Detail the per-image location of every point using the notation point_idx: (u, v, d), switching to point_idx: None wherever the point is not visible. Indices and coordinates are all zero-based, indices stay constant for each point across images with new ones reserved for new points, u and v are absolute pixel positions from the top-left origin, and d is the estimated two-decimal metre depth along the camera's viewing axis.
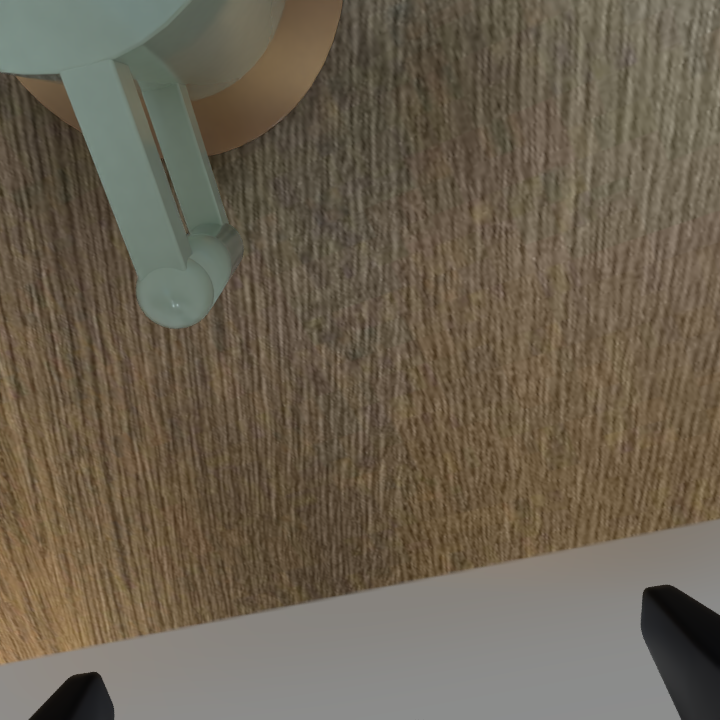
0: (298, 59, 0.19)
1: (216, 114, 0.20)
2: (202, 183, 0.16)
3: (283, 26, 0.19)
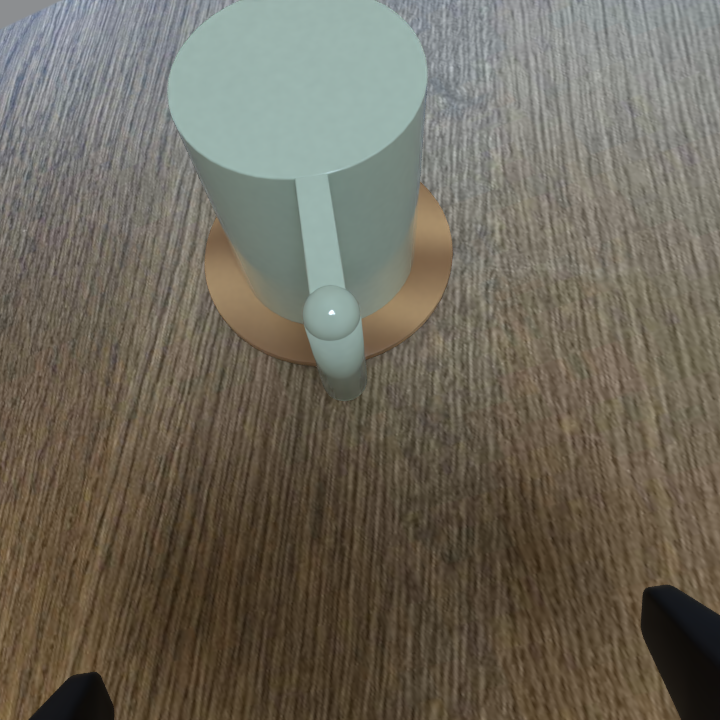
0: (415, 304, 0.26)
1: None
2: None
3: (407, 285, 0.27)
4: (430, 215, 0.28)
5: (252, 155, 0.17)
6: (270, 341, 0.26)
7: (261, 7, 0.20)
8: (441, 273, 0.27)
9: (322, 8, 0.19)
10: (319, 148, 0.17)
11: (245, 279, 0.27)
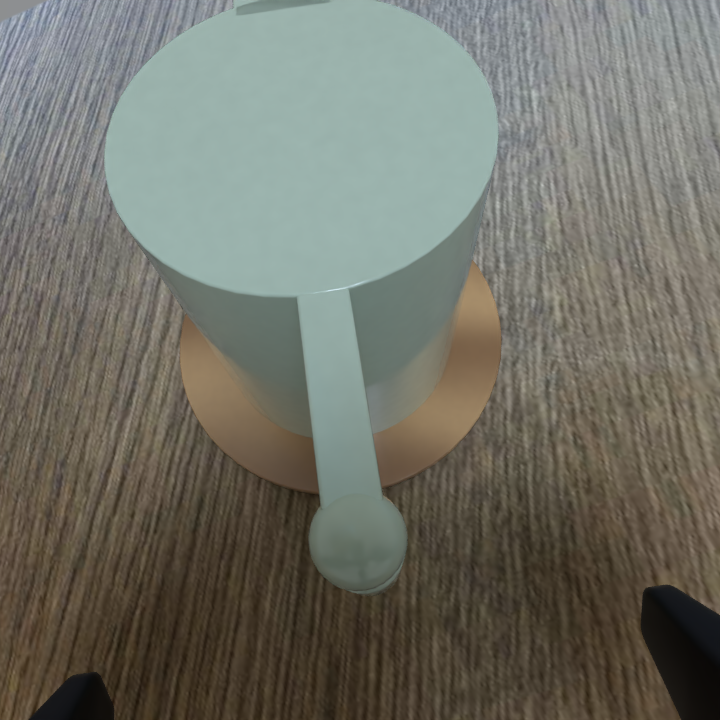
0: (455, 410, 0.20)
1: None
2: None
3: (443, 384, 0.20)
4: (470, 287, 0.22)
5: (229, 256, 0.11)
6: (264, 460, 0.20)
7: (248, 25, 0.13)
8: (488, 366, 0.20)
9: (338, 26, 0.13)
10: (335, 246, 0.11)
11: None
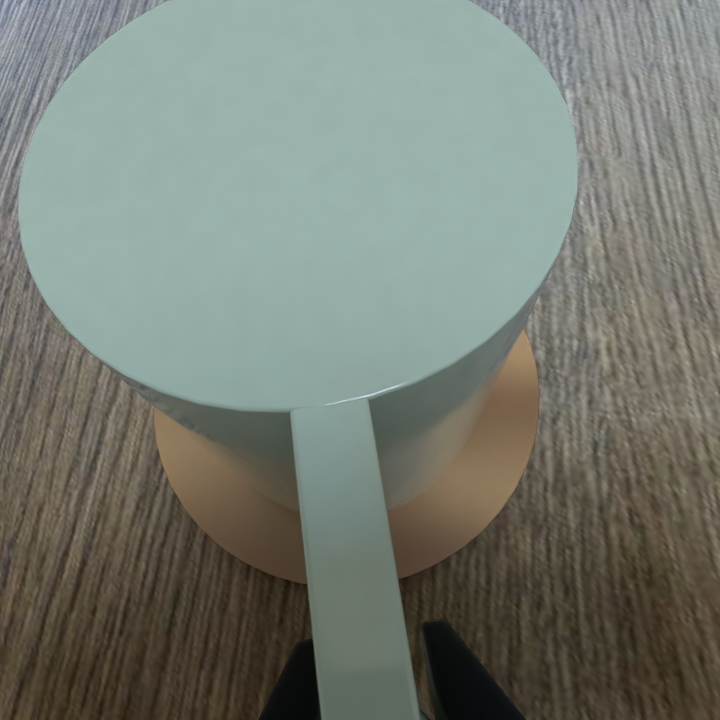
0: (486, 481, 0.16)
1: None
2: None
3: (470, 448, 0.17)
4: None
5: (191, 346, 0.07)
6: (253, 544, 0.16)
7: (225, 7, 0.10)
8: (524, 426, 0.17)
9: (347, 9, 0.10)
10: (348, 331, 0.07)
11: None
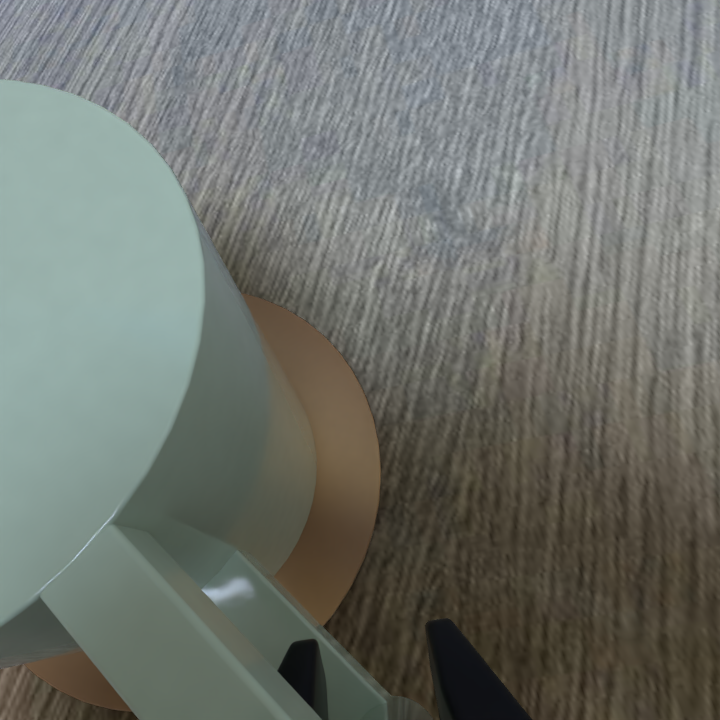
0: None
1: None
2: (327, 657, 0.10)
3: (279, 579, 0.15)
4: (354, 444, 0.16)
5: None
6: None
7: None
8: (344, 566, 0.15)
9: None
10: (49, 472, 0.06)
11: None
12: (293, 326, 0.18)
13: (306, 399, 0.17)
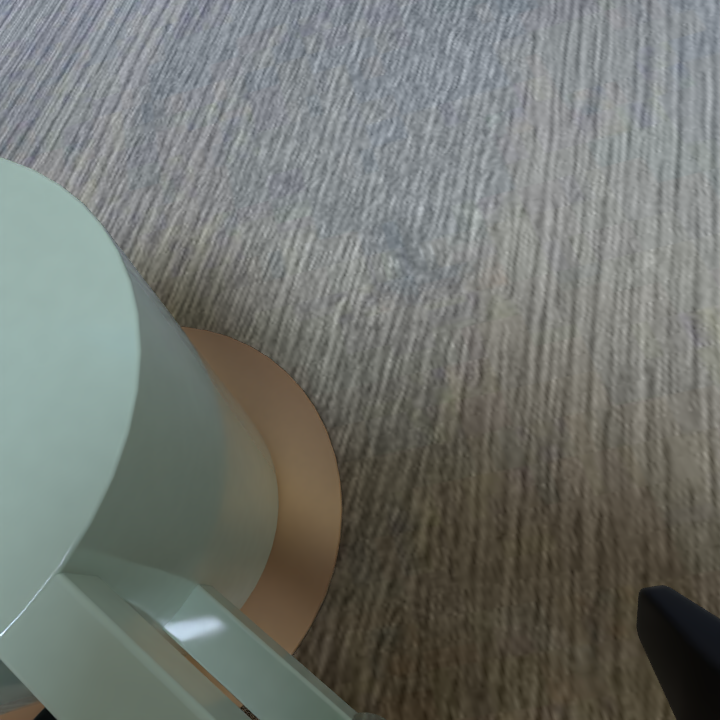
0: None
1: None
2: (291, 681, 0.10)
3: None
4: (316, 481, 0.17)
5: None
6: None
7: None
8: (304, 604, 0.15)
9: None
10: None
11: None
12: (257, 363, 0.18)
13: (269, 436, 0.17)
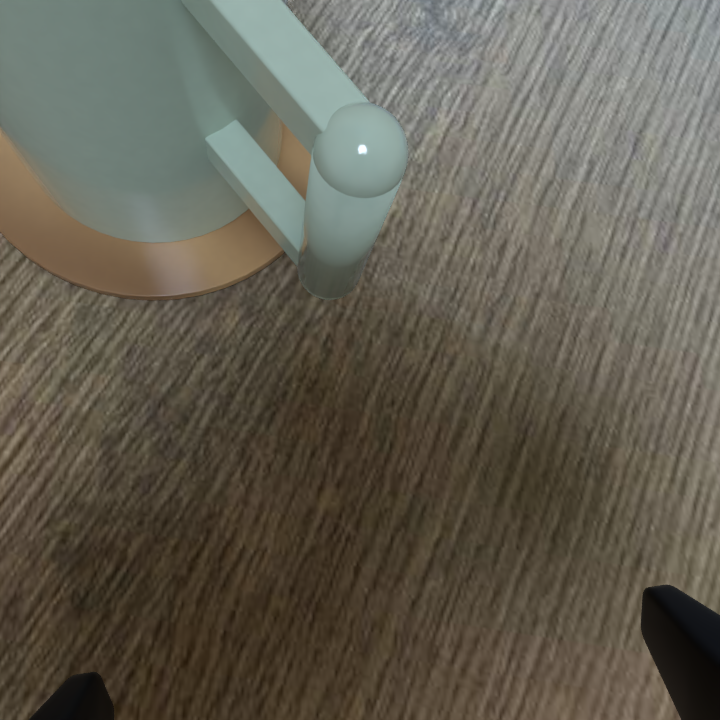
0: (226, 258, 0.19)
1: (118, 256, 0.18)
2: (294, 196, 0.14)
3: (229, 228, 0.19)
4: None
5: None
6: (7, 213, 0.18)
7: None
8: None
9: None
10: None
11: (69, 214, 0.18)
12: None
13: None
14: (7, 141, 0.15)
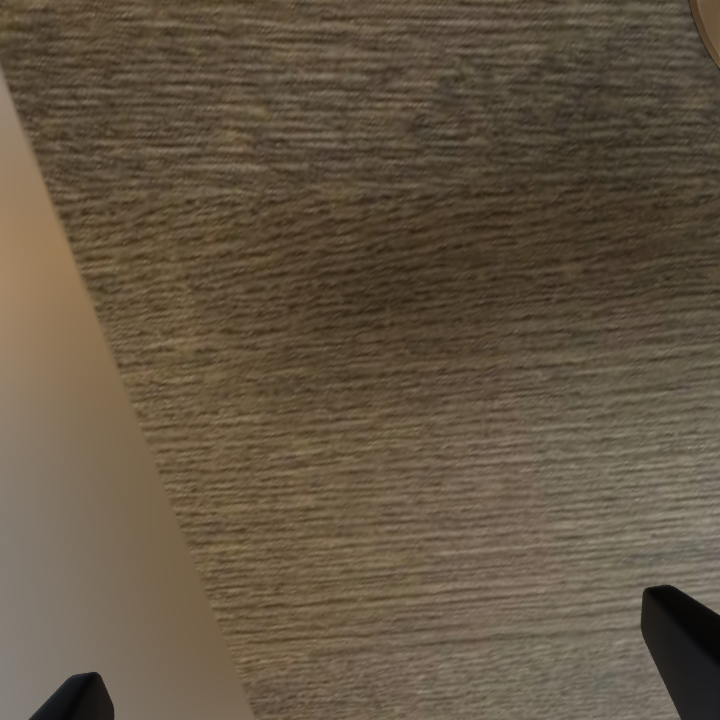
0: None
1: None
2: None
3: None
4: None
5: None
6: None
7: None
8: None
9: None
10: None
11: None
12: None
13: None
14: None
